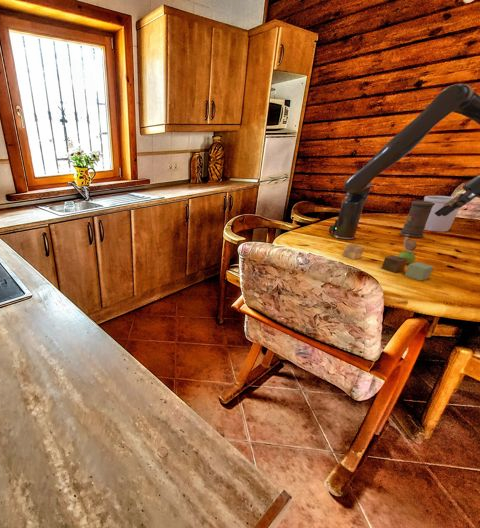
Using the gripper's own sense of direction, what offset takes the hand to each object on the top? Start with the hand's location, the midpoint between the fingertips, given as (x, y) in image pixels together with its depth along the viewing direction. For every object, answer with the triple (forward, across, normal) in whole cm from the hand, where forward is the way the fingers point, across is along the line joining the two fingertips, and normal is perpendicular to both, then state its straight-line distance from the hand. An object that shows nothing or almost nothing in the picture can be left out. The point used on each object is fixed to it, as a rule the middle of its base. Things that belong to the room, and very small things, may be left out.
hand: (439, 214), depth 114 cm
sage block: (+22, +19, +11) cm, 31 cm away
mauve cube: (+32, +7, -7) cm, 33 cm away
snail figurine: (+21, +4, +7) cm, 23 cm away
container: (+9, -43, +6) cm, 44 cm away
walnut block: (+25, +15, +5) cm, 30 cm away
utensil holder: (-1, -63, +11) cm, 64 cm away
